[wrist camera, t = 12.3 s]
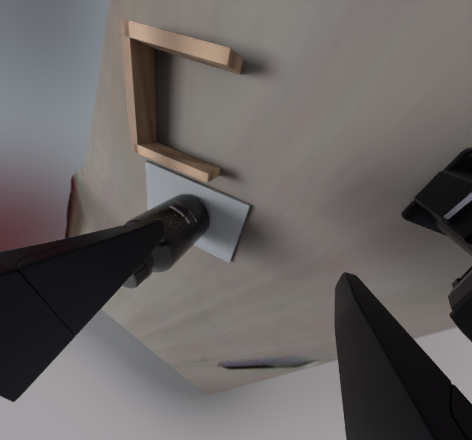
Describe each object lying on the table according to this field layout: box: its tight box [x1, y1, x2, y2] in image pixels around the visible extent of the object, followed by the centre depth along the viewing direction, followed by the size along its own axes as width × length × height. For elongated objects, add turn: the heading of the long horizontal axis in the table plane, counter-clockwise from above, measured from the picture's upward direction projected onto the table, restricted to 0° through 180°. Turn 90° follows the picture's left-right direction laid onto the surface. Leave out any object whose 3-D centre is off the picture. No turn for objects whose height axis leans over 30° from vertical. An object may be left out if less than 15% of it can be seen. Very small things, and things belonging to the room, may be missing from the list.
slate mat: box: [145, 161, 250, 263], centre depth 26 cm, size 16×11×1 cm
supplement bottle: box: [122, 194, 210, 289], centre depth 21 cm, size 7×7×12 cm
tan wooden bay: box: [119, 18, 243, 182], centre depth 18 cm, size 10×11×3 cm
